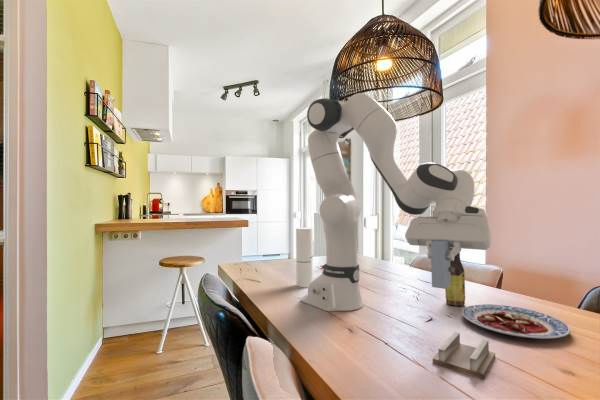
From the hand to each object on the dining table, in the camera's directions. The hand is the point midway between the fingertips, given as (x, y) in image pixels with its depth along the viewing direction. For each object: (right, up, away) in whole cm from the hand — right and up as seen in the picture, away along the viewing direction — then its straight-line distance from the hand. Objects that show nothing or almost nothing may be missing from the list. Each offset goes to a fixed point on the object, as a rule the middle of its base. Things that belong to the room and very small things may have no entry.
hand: (440, 258), depth 78 cm
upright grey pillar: (+1, -7, 0) cm, 7 cm away
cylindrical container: (-33, -23, +59) cm, 72 cm away
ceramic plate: (+27, -22, +13) cm, 37 cm away
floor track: (+3, -22, -7) cm, 23 cm away
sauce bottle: (+20, -22, +33) cm, 44 cm away
